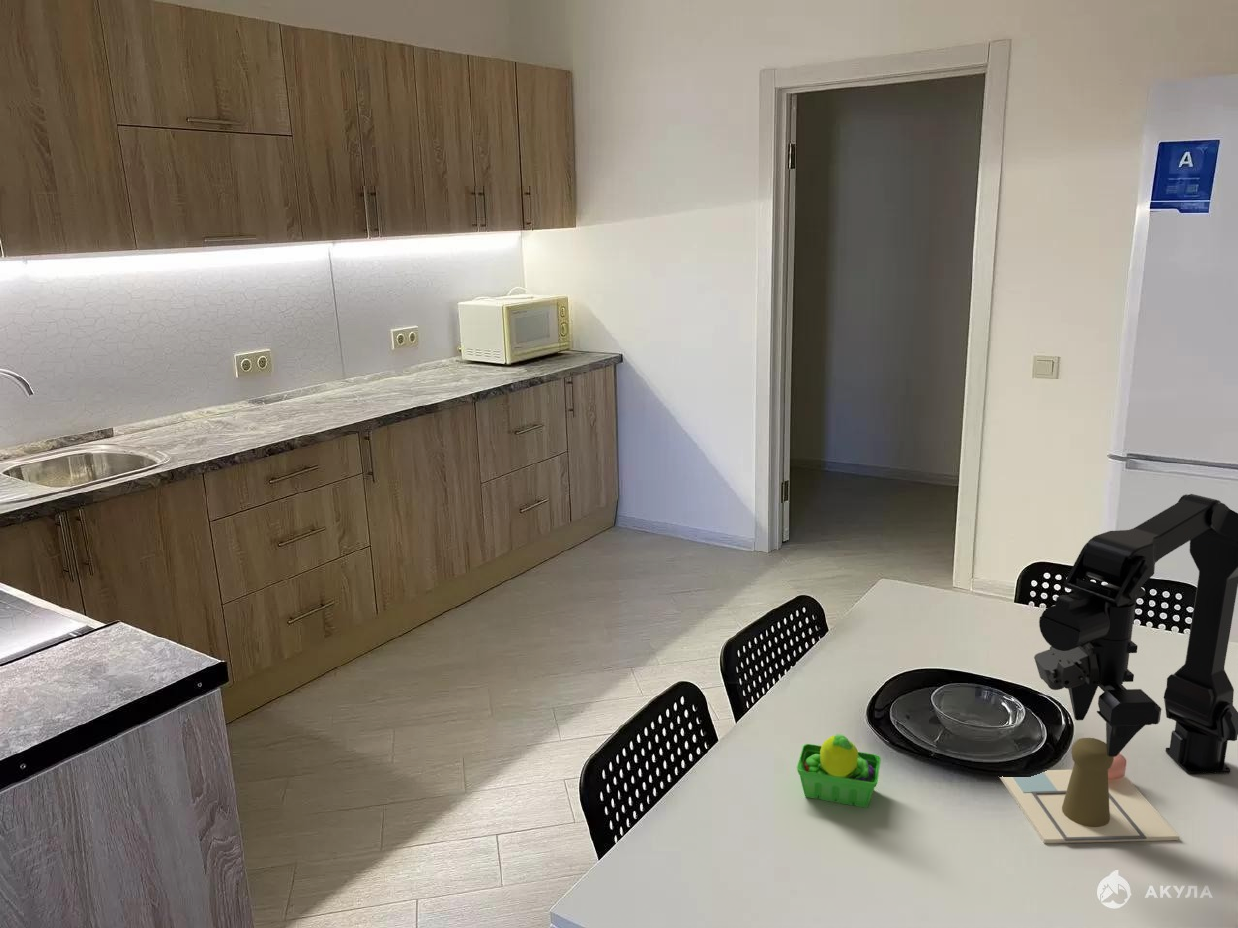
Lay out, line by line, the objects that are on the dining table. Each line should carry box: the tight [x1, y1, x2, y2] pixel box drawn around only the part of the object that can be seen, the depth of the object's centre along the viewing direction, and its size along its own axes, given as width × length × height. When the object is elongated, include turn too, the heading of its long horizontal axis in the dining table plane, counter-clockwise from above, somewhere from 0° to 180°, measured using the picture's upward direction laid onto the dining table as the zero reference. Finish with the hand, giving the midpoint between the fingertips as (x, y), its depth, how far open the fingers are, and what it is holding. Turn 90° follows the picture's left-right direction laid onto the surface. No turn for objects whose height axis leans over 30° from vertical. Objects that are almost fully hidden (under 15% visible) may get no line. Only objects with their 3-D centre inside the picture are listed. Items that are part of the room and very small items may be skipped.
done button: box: [1108, 752, 1127, 779], centre depth 140 cm, size 5×5×2 cm
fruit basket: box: [796, 733, 882, 809], centre depth 138 cm, size 11×9×11 cm
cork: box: [1062, 737, 1114, 827], centre depth 131 cm, size 6×6×11 cm
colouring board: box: [999, 769, 1180, 844], centre depth 135 cm, size 18×16×1 cm
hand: (1094, 737), depth 129 cm, fingers open, 9 cm apart
